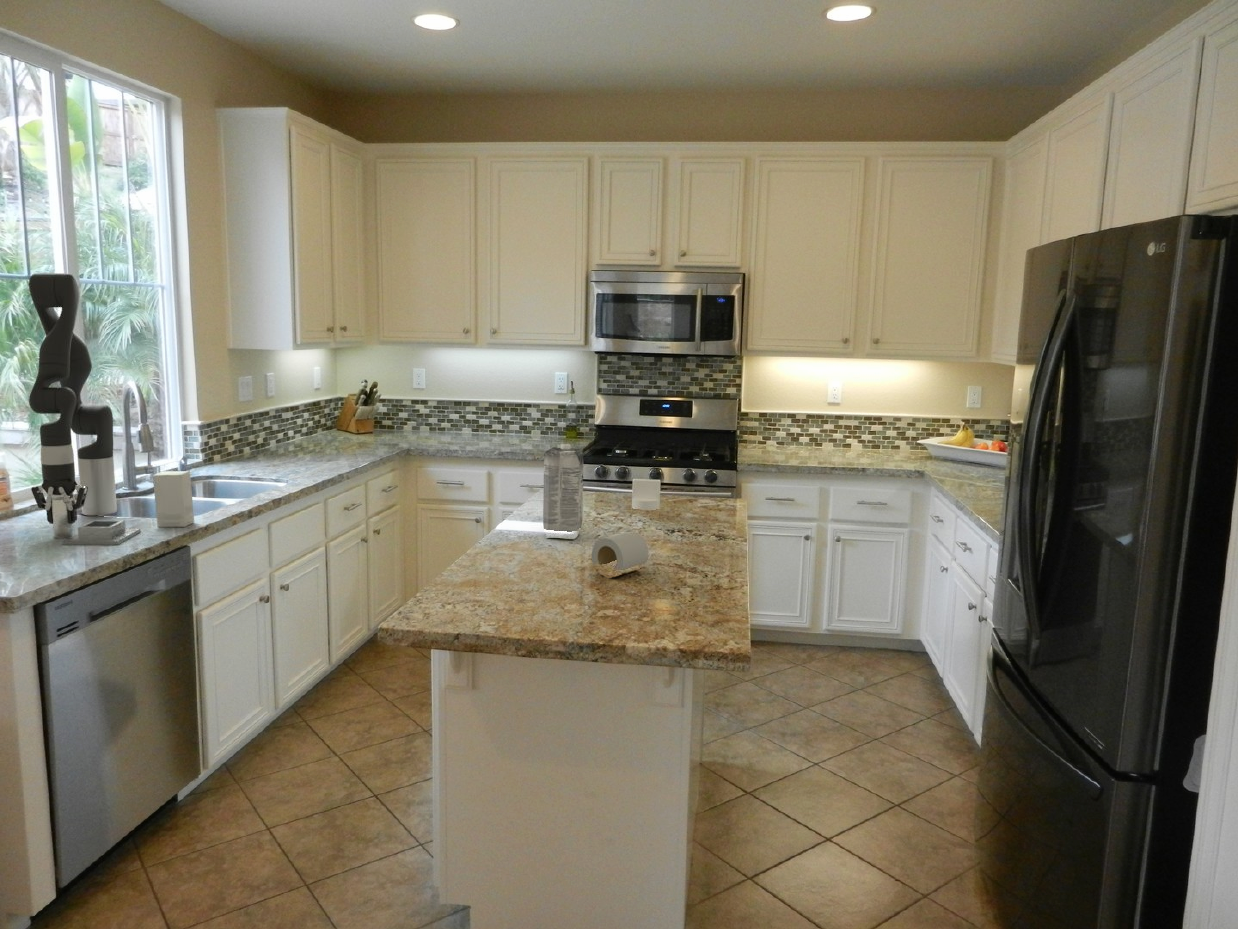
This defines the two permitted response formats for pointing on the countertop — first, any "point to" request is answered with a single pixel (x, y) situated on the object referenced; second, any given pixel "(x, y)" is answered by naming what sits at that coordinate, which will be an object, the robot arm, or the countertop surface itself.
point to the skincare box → (173, 498)
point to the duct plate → (101, 533)
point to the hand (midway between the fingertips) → (62, 522)
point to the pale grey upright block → (60, 517)
